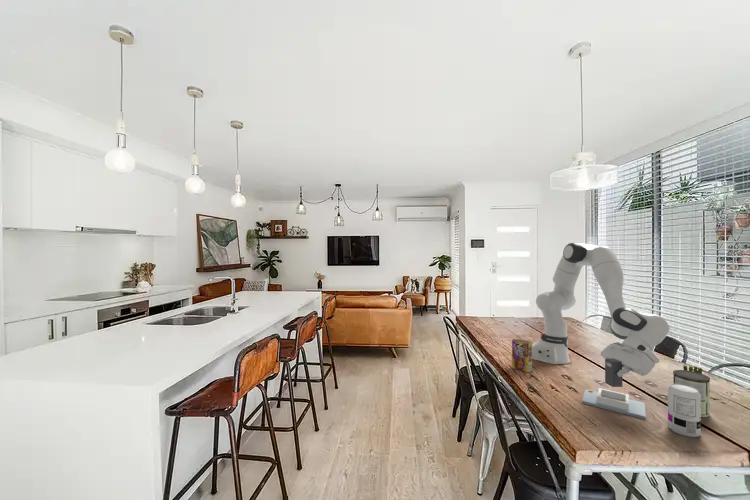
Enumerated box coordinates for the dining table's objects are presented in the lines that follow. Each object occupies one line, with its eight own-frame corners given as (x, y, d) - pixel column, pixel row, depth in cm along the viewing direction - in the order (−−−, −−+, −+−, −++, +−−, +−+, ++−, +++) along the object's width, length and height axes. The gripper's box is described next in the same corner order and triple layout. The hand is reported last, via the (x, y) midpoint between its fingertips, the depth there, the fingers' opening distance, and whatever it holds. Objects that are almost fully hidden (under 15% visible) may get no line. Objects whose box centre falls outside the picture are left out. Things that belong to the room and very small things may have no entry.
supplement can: (661, 425, 114) (661, 383, 114) (682, 424, 115) (682, 382, 115) (685, 438, 106) (685, 393, 106) (707, 437, 107) (708, 392, 107)
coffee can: (667, 402, 132) (667, 368, 132) (699, 406, 128) (699, 371, 128) (681, 414, 122) (682, 377, 122) (716, 419, 119) (717, 381, 119)
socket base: (581, 403, 131) (581, 394, 131) (585, 391, 142) (585, 383, 142) (645, 419, 118) (645, 409, 118) (644, 405, 129) (644, 396, 129)
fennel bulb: (681, 391, 142) (681, 364, 142) (688, 389, 144) (688, 363, 144) (698, 397, 137) (698, 369, 137) (705, 395, 139) (705, 367, 139)
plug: (605, 382, 132) (604, 358, 132) (614, 382, 132) (614, 358, 132) (612, 386, 128) (612, 361, 128) (622, 386, 128) (622, 361, 128)
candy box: (532, 370, 166) (532, 341, 166) (528, 372, 163) (528, 342, 163) (515, 366, 173) (515, 337, 173) (511, 367, 170) (511, 339, 170)
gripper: (610, 336, 141) (588, 358, 140) (652, 350, 120) (627, 377, 120) (620, 346, 141) (598, 368, 141) (663, 362, 121) (638, 388, 120)
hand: (612, 372), depth 130 cm, fingers closed on plug, 4 cm apart
